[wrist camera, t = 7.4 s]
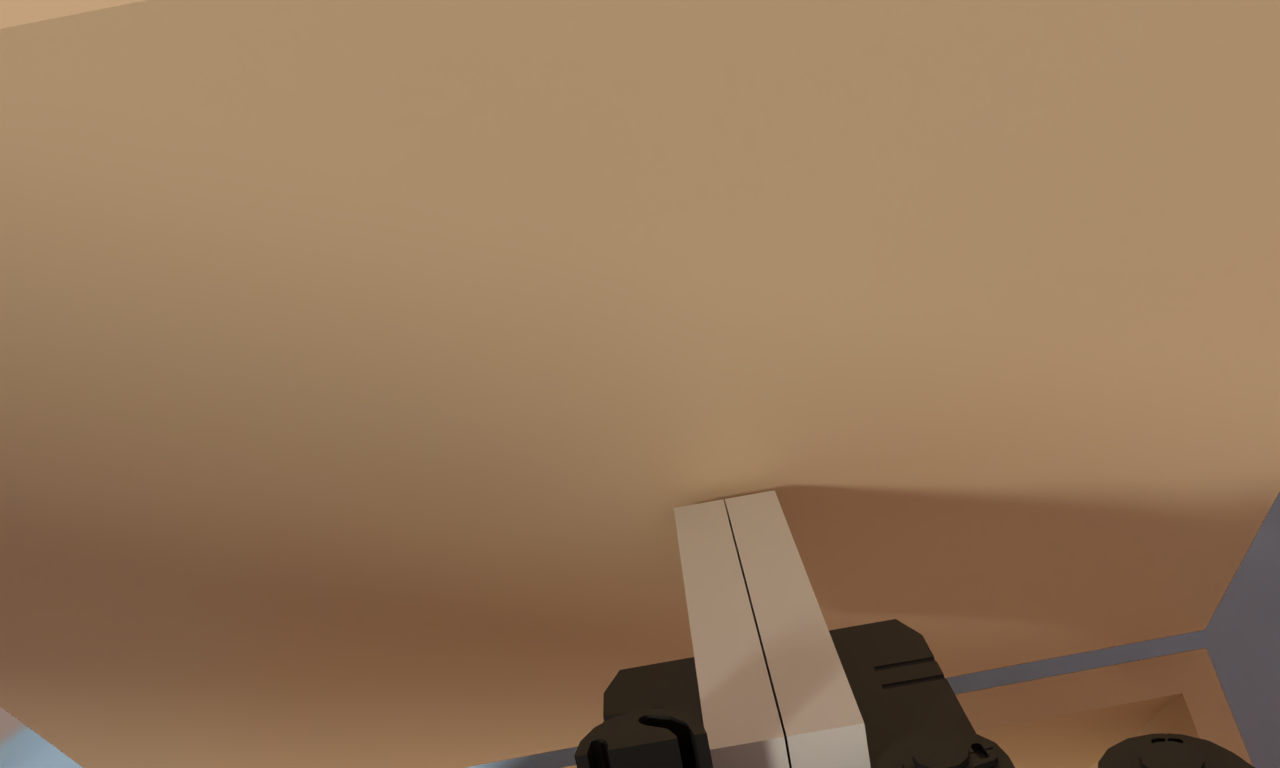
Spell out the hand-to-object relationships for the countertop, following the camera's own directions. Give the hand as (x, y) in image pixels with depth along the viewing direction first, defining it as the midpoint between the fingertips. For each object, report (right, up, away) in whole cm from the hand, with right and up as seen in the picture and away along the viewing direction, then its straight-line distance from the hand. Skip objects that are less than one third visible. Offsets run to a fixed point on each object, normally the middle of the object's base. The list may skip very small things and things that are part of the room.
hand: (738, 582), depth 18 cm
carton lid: (-2, +1, -1) cm, 2 cm away
